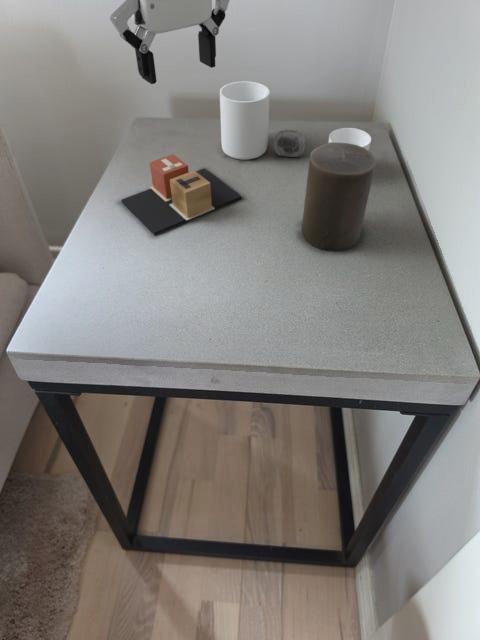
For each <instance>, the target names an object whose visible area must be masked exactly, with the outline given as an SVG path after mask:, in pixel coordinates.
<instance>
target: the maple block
mask: <svg viewBox="0 0 480 640" xmlns="http://www.w3.org/2000/svg"><path fill="white" fill-rule="evenodd" d="M196 171H197V170H192V171H189V173H186V174H183V175H181V176H178V177H175V178H173V179H170V186H171V194H172V202H173V205H174V206H175V207H176V208H177V209H178V210H179V211H180V212H182V213H183V214H184V215H185V216H186V217H187V218H189V217H192V216H194V215H196V214H199V213H201V212H204V211H206V210H208V209H211V208H212V201H211V183H210V182H209V181H207V180H206V179H205V178H204V177H202V176H201V175H200V174H198V173H197V172H196Z"/></svg>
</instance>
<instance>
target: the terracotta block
mask: <svg viewBox="0 0 480 640" xmlns="http://www.w3.org/2000/svg"><path fill="white" fill-rule="evenodd" d="M149 168H150V176H151V183H152V186H153V187H154V188H155V189H156V190H157V191H158V192H159V193H160V194H162V195H163V196H164V197H165V198H166V199H169V198H171V197H172V194H171V186H170V179H173V178H175V177H178V176H181V175H183V174H186V173H189V172H190V171H189V165H188V164H187V163H185V162H184V161H183V160H182V159H180V158H179V157H178V156H177V155H175V154H174V153H173V154H170V155H167V156H164V157H160V158H159V159H156V160H153V161H150V162H149Z"/></svg>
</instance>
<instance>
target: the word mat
mask: <svg viewBox="0 0 480 640" xmlns="http://www.w3.org/2000/svg"><path fill="white" fill-rule="evenodd" d="M195 171H196V172H197V173H198V174H200V175H201V176H202V177H204V178H205V179H206V180H207V181H209V182H210V183H211V201H212V208H211V209H208V210H206V211H204V212H201V213H199V214H196V215H194V216H192V217H189V218H187V217H186V216H185V215H184V214H183V213H182V212H180V211H179V210H178V209H177V208H176V207H175V206H174V205H173V202H172V197H171V198H169V199H166V198H165V197H164V196H163V195H162V194H160V193H159V192H158V191H157V190H156V189H155V188H154V187H153V185H152V186H149V189H148V188H147V189H146V190H144V191H141V192H138V193H135V194H133V195H130V196H127V197H125V198H122V199H121V203H122V204H123V205H124V207H126V208H127V210H129V211H130V212H131V214H132V215H134V216H135V217H136V219H138V220H139V221H140V222H141V223H142V224H143V226H145V228H147V229H148V230H149V232H150V233H151V234H153V235H154V236H157V235H160V234H161V233H164V232H166V231H169V230H171V229H174V228H176V227H178V226H180V225H182V224H185V223H187V222H190V221H192V220H195V219H197V218H199V217H201V216H205V215H207V214H209V213H211V212H213V211H215V210H219V209H221V208H223V207H226V206H228V205H230V204H232V203H235V202H237V201H239V200H242V195H241V194H239V193H238V192H236V191H235V190H234V189H233V188H231V187H230V186H229V185H227V183H225V182H223V181H222V180H221V179H220V178H219V177H217V176H216V175H215V174H213V173H212V172H211V171H209V170H208V169H206V168H205V167H204V168H201V169H199V170H195Z"/></svg>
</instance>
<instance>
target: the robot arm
mask: <svg viewBox="0 0 480 640" xmlns="http://www.w3.org/2000/svg"><path fill="white" fill-rule="evenodd" d="M214 3H215V4H214V8H213V0H125V1H123V3H122V4H121V5H119V7H117V8H116V9H115V10H114V11H113V12H112V13H111V14H110V17H109V20H110V22H111V23H112V25H113V26H114V29H115V30H116V31H117V32H118V33H119V36H120V38H122V39H123V40H124V41H125V42H126V43H127V44H129V46H131V48H133V49H134V51H135V57H136V65H137V71H138V74H139V76H140V77H141V78H142V79H143V80H144V81H146V82H147V83H149V84H150V85H154V84H156V83H157V72H156V65H155V58H154V53H153V51H151V50H150V47H151V45H152V44H153V41H154V39H155V36H156V35H158V34H163V33H164V34H165V33H169V32H173V31H177V30H181V29H186V28H191V27H196V26H199V28H200V29H201V30H199V31H198V34H197V40H198V41H197V42H198V54H199V55H198V56H199V57H198V58H199V62H200V63H202V64H203V65H205V66H207V67H209V68H211V69H212V68H216V57H217V45H216V37H217V36H218V35H219V33H220V27H221V25H222V24H223V22H224V20H225V19H226V12H227V10H228V7H229V3H230V0H215V2H214ZM130 18H131V20H132V22H133V24H135V26H136V27H135V30H134V31H132V30H131V28H130V26H129V24H128V21H129V19H130Z"/></svg>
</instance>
